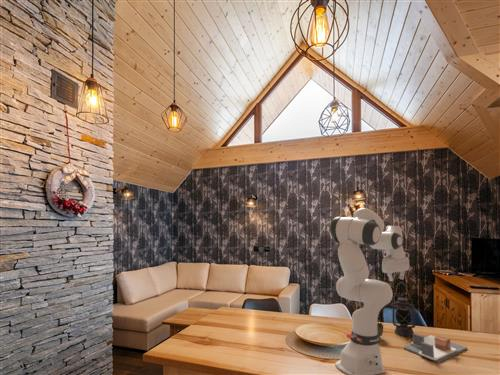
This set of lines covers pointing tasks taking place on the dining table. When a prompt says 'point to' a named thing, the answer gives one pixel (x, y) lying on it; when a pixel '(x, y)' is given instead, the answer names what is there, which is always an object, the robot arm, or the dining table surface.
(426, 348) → the white strip
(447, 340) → the rust block
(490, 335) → the dining table surface
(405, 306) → the lantern
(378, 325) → the dark ornate pot
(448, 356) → the slate board
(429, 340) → the grey strip
